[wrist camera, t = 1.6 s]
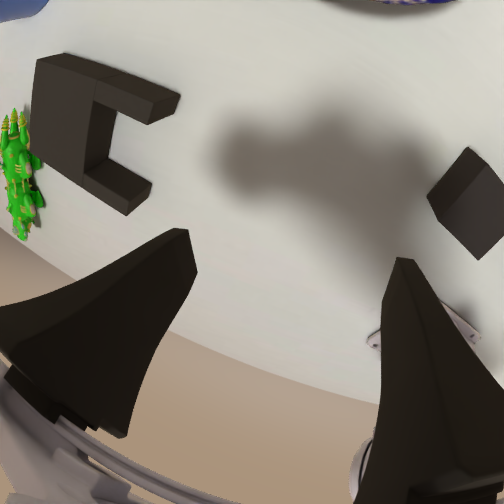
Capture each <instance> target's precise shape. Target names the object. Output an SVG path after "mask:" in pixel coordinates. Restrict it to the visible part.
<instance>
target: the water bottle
mask: <svg viewBox="0 0 504 504" xmlns="http://www.w3.org/2000/svg"><path fill="white" fill-rule="evenodd" d="M47 2H48V0H0V23H2V22H6V21H10V20H15V19H20V18H26V17H31V16H33V15H35V14H36V13H38V12H39V11H40V10H41V9H42V8H43V7H44V6H45V4H46V3H47Z"/></svg>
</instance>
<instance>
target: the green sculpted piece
mask: <svg viewBox="0 0 504 504" xmlns="http://www.w3.org/2000/svg"><path fill="white" fill-rule="evenodd" d="M19 117H20V118H19V120H20V121H19V126H18V123H17V121H18V115H17V111H16V110H15V108H14V109H13V111H12V114H11V119H10V122H11V128H9V127H8V126H9V124H8V123H9V121H8V120H9V119H8V116H7V115H6V117H5V119H4V121H3V124H2V128H1V130H2V134H1V137H0V152H1V153H0V154H1V157H2V156H3V157H2V158H3V164H1V163H0V168H1V169H3V170H4V172H3V174H4V175H5V177H6V181H7V187H5V189H6V190H7V195H8V200H9V205H8V207H7V209H6V210H7V211H8V212H10V214H12V216H13V233H14V234H15V235H17V236H18V238H19V239H20V240H23V241H27V237H28V233H27V232H30V228H31V222H33V223H35V222H34V220H33V218H30V217H34V216H35V215H36V209H35V206H34V204H33V202H34V203H35V205H36V206H37V207H39V208H41V207H42V206H43V199H42V197H41V194H40V193H39V191H38V190H37V192H36V191H31V190H30V187H32V185H31V184H29V180H27V178H30V177H31V176H32V168H33V169H34V170H39V169H40V166H41V161H40V159H39V158H37V157H36V156H35V155H33V154H32V153H30V151H28V150H27V149H29V147H30V142H29V138H30V136H29V134H28V130H27V127H26V124H27V122H25V121H26V119H25V116H24V114H23V113H22V112H21V115H20V116H19ZM18 127H20V132H19V129H18ZM9 129H10V134H9V135H8V130H9ZM28 142H29V144H27V143H28ZM28 155H29V159H28ZM30 163H31V165H30ZM31 166H32V168H31ZM8 182H9V184H8ZM31 194H32V196H31Z"/></svg>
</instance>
